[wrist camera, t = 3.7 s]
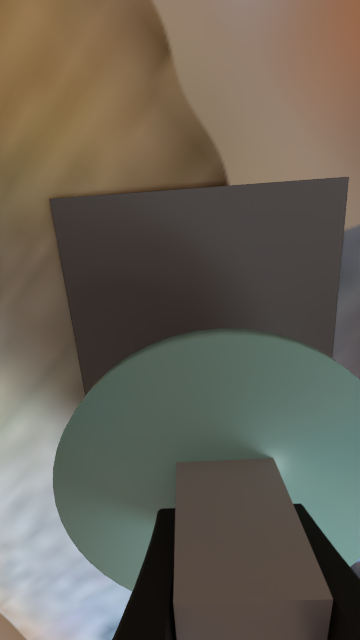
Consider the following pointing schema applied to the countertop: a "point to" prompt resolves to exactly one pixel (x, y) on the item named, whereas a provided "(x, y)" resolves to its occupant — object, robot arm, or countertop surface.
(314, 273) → the mat
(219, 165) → the countertop surface
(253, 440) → the lid
